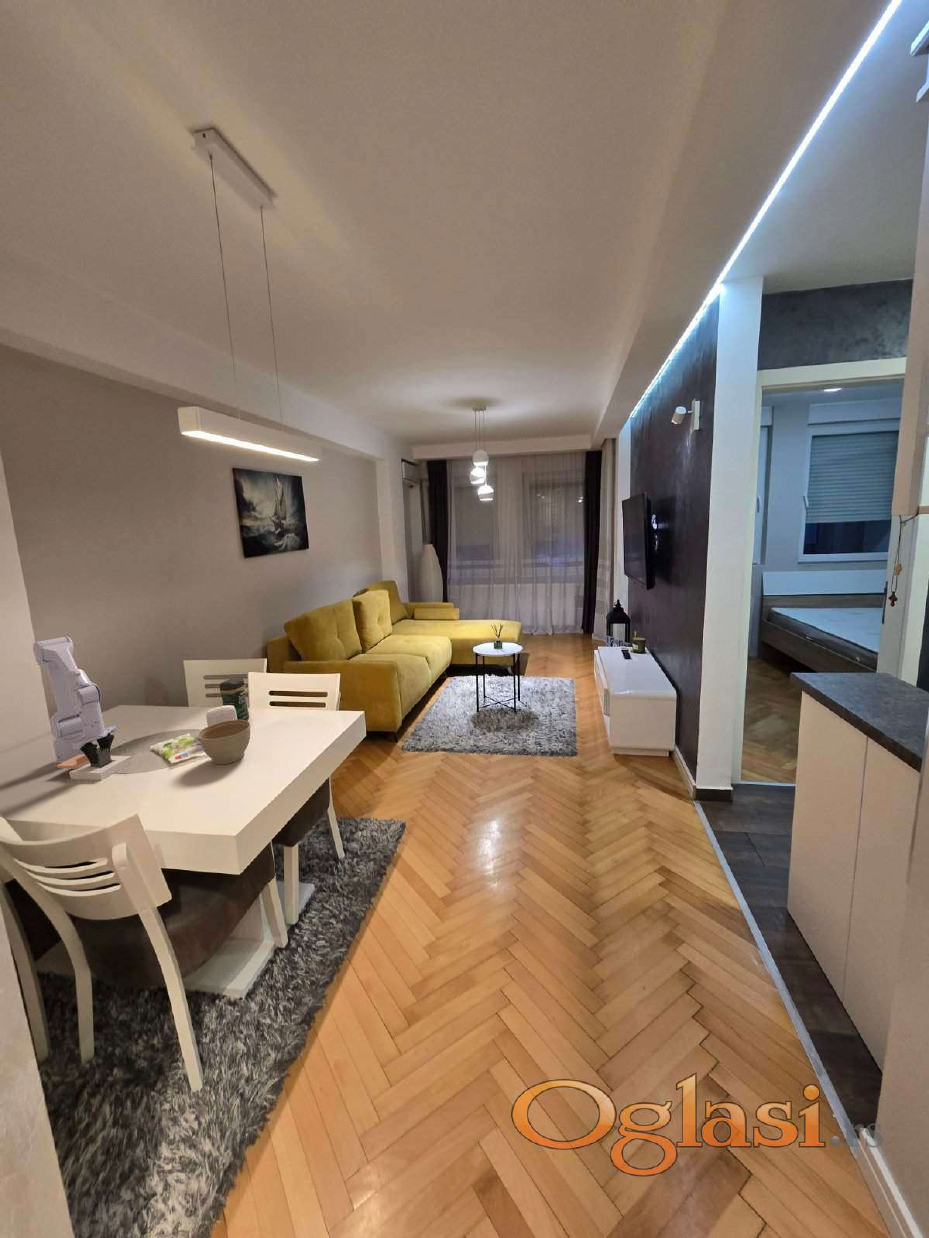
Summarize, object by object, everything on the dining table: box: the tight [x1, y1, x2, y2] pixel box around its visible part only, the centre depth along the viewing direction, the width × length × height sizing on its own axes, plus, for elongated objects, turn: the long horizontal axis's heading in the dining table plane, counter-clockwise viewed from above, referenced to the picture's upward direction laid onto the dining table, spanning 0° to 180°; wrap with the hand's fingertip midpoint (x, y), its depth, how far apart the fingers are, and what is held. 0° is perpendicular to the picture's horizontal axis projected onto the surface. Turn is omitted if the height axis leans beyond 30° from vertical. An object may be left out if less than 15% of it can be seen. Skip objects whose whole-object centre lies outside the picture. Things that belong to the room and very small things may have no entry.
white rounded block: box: [205, 705, 237, 727], centre depth 189 cm, size 10×4×12 cm, turn 123°
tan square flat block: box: [56, 755, 90, 769], centre depth 169 cm, size 8×8×3 cm
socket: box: [68, 755, 133, 781], centre depth 168 cm, size 12×12×2 cm
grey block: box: [90, 747, 112, 768], centre depth 167 cm, size 4×4×5 cm
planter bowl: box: [197, 720, 251, 765], centre depth 170 cm, size 16×16×11 cm
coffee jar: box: [219, 676, 250, 721], centre depth 204 cm, size 10×8×19 cm
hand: (100, 760), depth 167 cm, fingers closed on grey block, 4 cm apart
